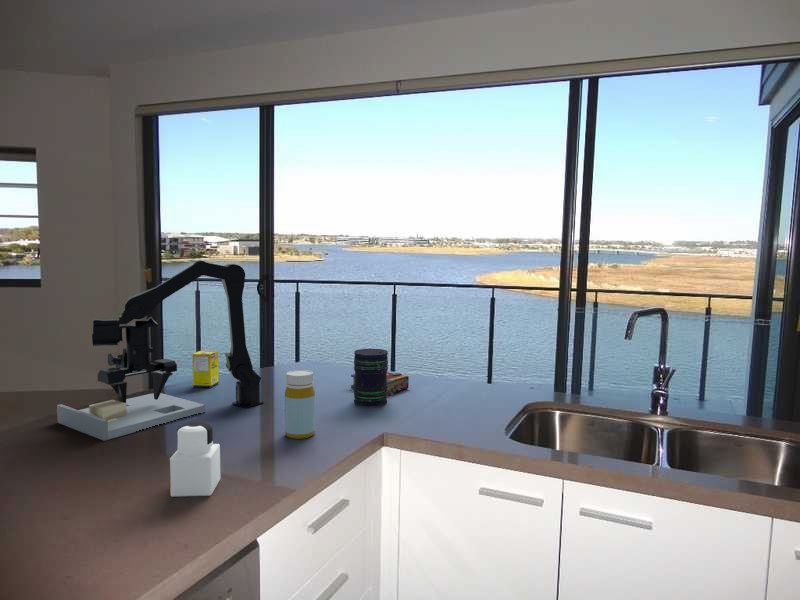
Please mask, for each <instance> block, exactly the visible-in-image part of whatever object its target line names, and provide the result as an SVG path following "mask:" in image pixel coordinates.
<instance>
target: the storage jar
mask: <svg viewBox="0 0 800 600" xmlns="http://www.w3.org/2000/svg"><path fill="white" fill-rule="evenodd" d="M388 352H389V351H388V350H386V349H381V348H360V349H357V350H356V349H355V350H354V356H353V359H354V360H353V365H354V366H353V371H354V374H355V384H354V388H353V398H354V401H353V403H354V405H356V406H359V407H362V408H379V407H383V406H385V405H387V404H388V395H387V394H388V390H387V389H388V384H387V372H389V371H388V369H389V366H388V365H389V359H388V358H389V357H388V355H389V353H388Z"/></svg>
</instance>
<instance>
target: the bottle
mask: <svg viewBox="0 0 800 600" xmlns="http://www.w3.org/2000/svg"><path fill="white" fill-rule="evenodd" d="M285 379H286V388H285V391H284V434H285V436H287V437H288V438H289V439H293V440H304V439H309V438H311V437H312V436H313V435H314V434H315V432H316V393H315V392H316V391H315V388H314V372H313V371H311V370H308V369H307V370H306V369H297V370H295V369H294V370H290V371H287V372H286V378H285Z"/></svg>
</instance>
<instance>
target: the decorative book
mask: <svg viewBox="0 0 800 600" xmlns="http://www.w3.org/2000/svg"><path fill="white" fill-rule="evenodd" d="M350 376H351V378H353V384H351V385H350V387H351V388H353V389H354V384H355V373H352V374H351V375H350ZM387 384H388V389H387V390H388V394H387V396H389V395H390V396H394V395H395V394H396V392H400V391H403V390H406V389H407V390H408V389H409V384H410V383H409V376H408V375H403V374H402V373H399V372H395V373H394V372H389V371H387Z"/></svg>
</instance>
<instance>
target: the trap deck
mask: <svg viewBox="0 0 800 600" xmlns="http://www.w3.org/2000/svg"><path fill="white" fill-rule="evenodd" d="M126 408H127V415H125V416H122V417H118V418H114V419H110V420H105V419H102V418H99V417H97V416H94V415H91V414H89V407H86V408H82V409H75V408H73V407H70V406H67V405H65V404H61V403H60V404H57V405H56V416H57V418H56V419H57V423H58V424H60V425H63V426H65V427H67V428H70V429H72V430H73V429H74V430H76V431H78V432H81V433H83V434H86V435H87V436H90V437H94V438H96V439H98V440H101V441H104V442H105V441H108V440H111V439H116V438H118V437H122V436H123V437H124V436H126V435H130V434H133V433H136V431H137V432H139V430H141V431H143V430H142V429H144V430H147V429H146V428H148V429H150V428H149V427H151V428H153V427H152V426H155V425H158V426H160V425H159V424H162V425H164V424H163V423H165V424H167V423H166V422H169V423H171V422H170V421H173V420H176V419H179V418H183V417H186V416H189V415H194V414H197V415H199V414H198V413H201V414H204V413H203V412H205V413H206V404H203V403H199V402H196V401H192V400H188V399H186V398H185V399H184V398H180V397H177V396H174V395H170V394H165V393H162V392H161V393H160V396H159V398H158V399H157V400H155V399H154V392H153V393H148V394H144V395H139V396H135V397H131V398H126ZM173 411H174V412H173ZM194 416H195V415H194ZM183 419H184V418H183ZM176 421H177V420H176ZM173 422H174V421H173ZM155 427H156V426H155Z"/></svg>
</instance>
